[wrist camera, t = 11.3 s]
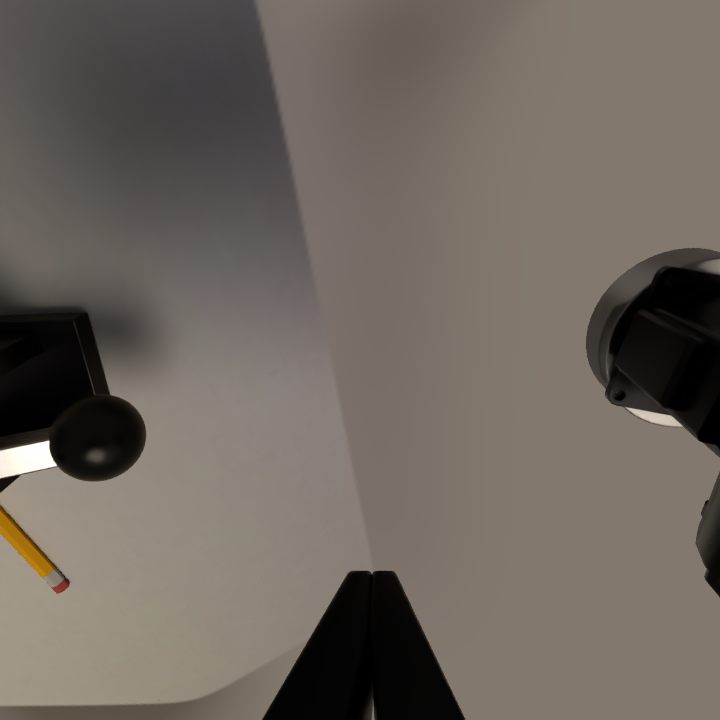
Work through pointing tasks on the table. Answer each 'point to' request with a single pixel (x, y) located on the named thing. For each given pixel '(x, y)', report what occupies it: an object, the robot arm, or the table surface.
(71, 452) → the ball knob lever
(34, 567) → the pencil
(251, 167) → the table surface
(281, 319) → the table surface
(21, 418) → the bracket
